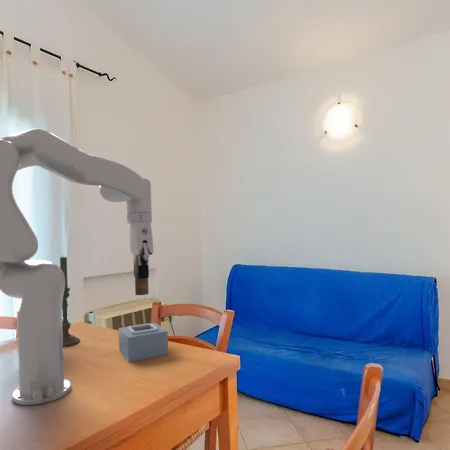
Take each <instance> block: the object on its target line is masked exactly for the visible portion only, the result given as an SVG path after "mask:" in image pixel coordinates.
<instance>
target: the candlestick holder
mask: <svg viewBox="0 0 450 450" xmlns="http://www.w3.org/2000/svg"><path fill="white" fill-rule="evenodd" d="M59 267H60V268H61V270H62V271H63V273H64V276H65V289H64V295H63V301H62V335H63V348H66V347H71V346H74V345H77V344H79V343H80V341H81V340H80V337H79V338H78V337H76V336H75V335H73V334H71V333H70V332H69V330H70V328H71V322H69V320H68V307H69V304H68V298H69V297H70V293H69V292H70V291H71V287H69V286H68V257H66V256H64V255H61V256H60V257H59Z"/></svg>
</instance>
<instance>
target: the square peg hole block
mask: <svg viewBox="0 0 450 450" xmlns="http://www.w3.org/2000/svg"><path fill="white" fill-rule="evenodd" d="M118 350H119V352H120V353H121V354H122V355H123V357H124V358H125V359H126V360H127V362H130V363H131V362H134V361H140V360H141V361H142V360H145V359H151V358H154V357H160V356H166V355H169V341H168V330H166V329H165V328H164V327H162V326H161V325H159V323H156V322H150V323H144V324H135V325H129V326H125V327H118Z"/></svg>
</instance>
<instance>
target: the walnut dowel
mask: <svg viewBox="0 0 450 450" xmlns="http://www.w3.org/2000/svg"><path fill="white" fill-rule="evenodd" d="M140 255H144V254H143V253H141V254H140ZM141 258H142V257H141ZM134 264H135V277H134V291H135V293H134V294H135V296H145V295H149V290H150V289H149V278H144V279H139V278H138V266H139V261H138V255H135V254H134V255H133V265H134Z"/></svg>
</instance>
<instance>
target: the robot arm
mask: <svg viewBox="0 0 450 450" xmlns="http://www.w3.org/2000/svg"><path fill="white" fill-rule="evenodd" d="M34 166H35V167H36V166H37V167H40V168H42V169H44V170H46V171H49V172H50V173H52V174H55V175H56V176H59V177H61V178H63V179H65V180H67V181H69V182H71V183H76V184H81V185H88V186H99V189H98V191H99V193H100V196H101V197H102V198H103V199H104V200H105V201H108V202H111V203H122V202H126V222H127V224H129V248H130V249H129V250H130V253H131V254H132V256H134V254H135V255H138V261H139V266H138V278H139V279H144V278H148V279H149V277H150V271H149V267H150V265H149V257H150V256H152V255H153V254H154V242H153V231H152V230H153V229H152V225H151V223H153V218H152V217H153V216H152V214H153V213H152V212H153V211H152V185H151V180H149V179H148V178H143V177H142V176H141V175H140V174H139V173H137V172H136V171H134V170H133V169H131V168H130V167H128V166H125V164H121V163H119V162H116V161H113V160H110V159H106V158H102V157H99V156H97V155H93V154H89V153H87V152H85V151H83V150H82V149H80V148H78V147H77V146H75V145H72V144H71V143H69V142H67V141H66V140H64V139H63V138H61V137H59V136H58V135H55V134H54V133H52V132H50V131H47V130H46V129H43V128H31V129H29V130H25V131H21V132H20V131H19V132H18V133H14V134H10V135H8V136H5V137H1V138H0V291H1V293H3V294H5V295H6V296H8V297H10V298H15V299H20V300H21V303H20V307H19V310H18V314H17V315H18V316H17V341H18V342H17V344H18V346H17V347H18V349H17V351H18V377H19V378H18V379H19V380H18V381H19V383H18V384H19V387H17V388H16V389H14V391H13V392H12V394H11V396H12V397H11V399H12V401H13V402H14V403H15V404H17V405H21V406H23V405H24V406H33V405H35V406H36V405H41V404H45V403H49V402H53V401H56V400H58V399H60V398H62V397H64V396H65V395H67V394H68V393H69V392H70V391H71V388H72V383H71V381H69V380H68V379H66V378H65V376H64V375H65V374H64V347H63V335H62V321H63V315H62V314H63V313H62V312H63V311H62V301H63V295H64V289H65V276H64V273H63V271H62V270H61V268H60V265H58V264H56V263H54V262H52V261H48V260H42V259H32V258H33V257H34V256H36V255H37V254H36V253H37V252H38V249H39V241H38V239H37V235H36V234H35V232H34V231H33V229H32V227H31V226H30V224H29V222H28V220H27V219H26V216H25V215H24V214H23V212H22V210H21V209H20V207H19V205H18V203H17V201H16V199H15V197H14V196H15V195H14V194H13V183H14V179H15V177H16V174H17V172H18V171H19V170H23V169H25V168H29V167H34ZM141 253H143V254H144V255H140V254H141ZM141 257H142V258H141ZM133 277H134V278H135V264H134V263H133Z"/></svg>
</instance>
